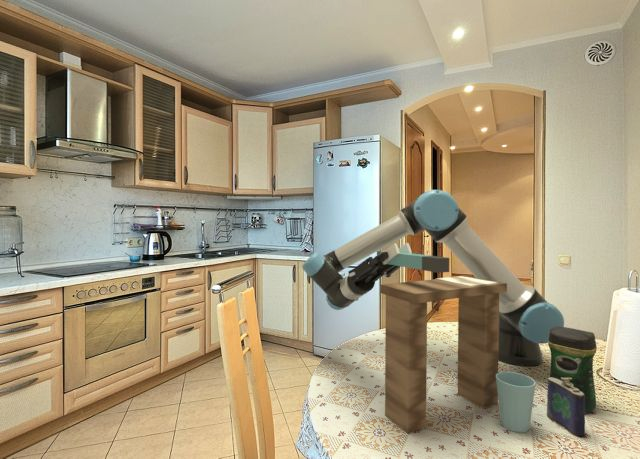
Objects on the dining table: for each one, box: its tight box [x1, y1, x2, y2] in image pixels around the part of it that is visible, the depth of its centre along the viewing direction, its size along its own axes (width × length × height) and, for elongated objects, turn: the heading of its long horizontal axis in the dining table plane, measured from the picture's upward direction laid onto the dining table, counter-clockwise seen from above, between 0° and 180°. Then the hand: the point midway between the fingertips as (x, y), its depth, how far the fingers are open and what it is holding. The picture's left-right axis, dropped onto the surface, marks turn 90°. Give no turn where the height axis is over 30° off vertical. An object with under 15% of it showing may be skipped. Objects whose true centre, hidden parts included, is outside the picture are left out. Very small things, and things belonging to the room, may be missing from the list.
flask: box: [546, 376, 586, 439], centre depth 80 cm, size 9×3×11 cm, turn 8°
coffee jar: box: [547, 326, 598, 413], centre depth 89 cm, size 10×8×19 cm
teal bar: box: [376, 249, 450, 274], centre depth 86 cm, size 3×22×3 cm, turn 27°
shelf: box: [380, 275, 507, 434], centre depth 86 cm, size 28×12×30 cm, turn 116°
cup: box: [496, 371, 537, 434], centre depth 80 cm, size 8×8×10 cm
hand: (402, 248), depth 88 cm, fingers closed on teal bar, 3 cm apart
